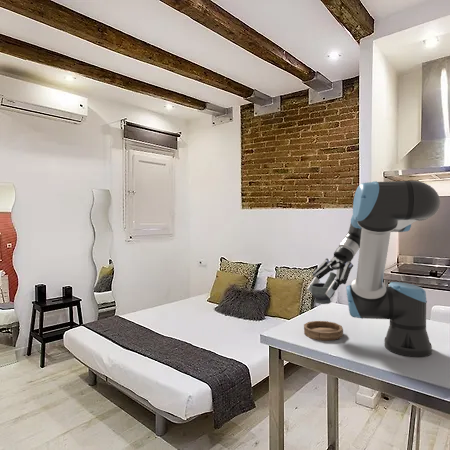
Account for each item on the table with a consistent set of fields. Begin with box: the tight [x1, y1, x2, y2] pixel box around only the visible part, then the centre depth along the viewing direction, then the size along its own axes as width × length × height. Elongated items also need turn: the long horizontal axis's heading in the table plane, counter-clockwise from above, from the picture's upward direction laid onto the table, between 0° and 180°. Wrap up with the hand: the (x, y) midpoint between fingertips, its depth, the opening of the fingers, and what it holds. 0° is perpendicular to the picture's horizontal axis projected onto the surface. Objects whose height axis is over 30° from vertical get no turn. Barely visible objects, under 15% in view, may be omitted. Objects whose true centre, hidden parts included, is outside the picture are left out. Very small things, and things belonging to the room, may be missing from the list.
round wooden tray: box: [303, 320, 344, 342], centre depth 143 cm, size 15×15×3 cm
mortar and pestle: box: [309, 271, 337, 305], centre depth 143 cm, size 11×9×12 cm
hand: (318, 293), depth 142 cm, fingers closed on mortar and pestle, 10 cm apart
